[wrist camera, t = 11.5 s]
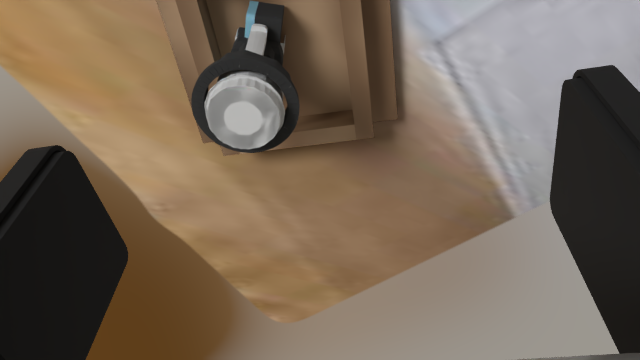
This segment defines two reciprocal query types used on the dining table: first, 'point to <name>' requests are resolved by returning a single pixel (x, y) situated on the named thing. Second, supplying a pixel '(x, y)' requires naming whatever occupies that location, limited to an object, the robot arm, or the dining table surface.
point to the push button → (249, 87)
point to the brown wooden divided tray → (302, 60)
